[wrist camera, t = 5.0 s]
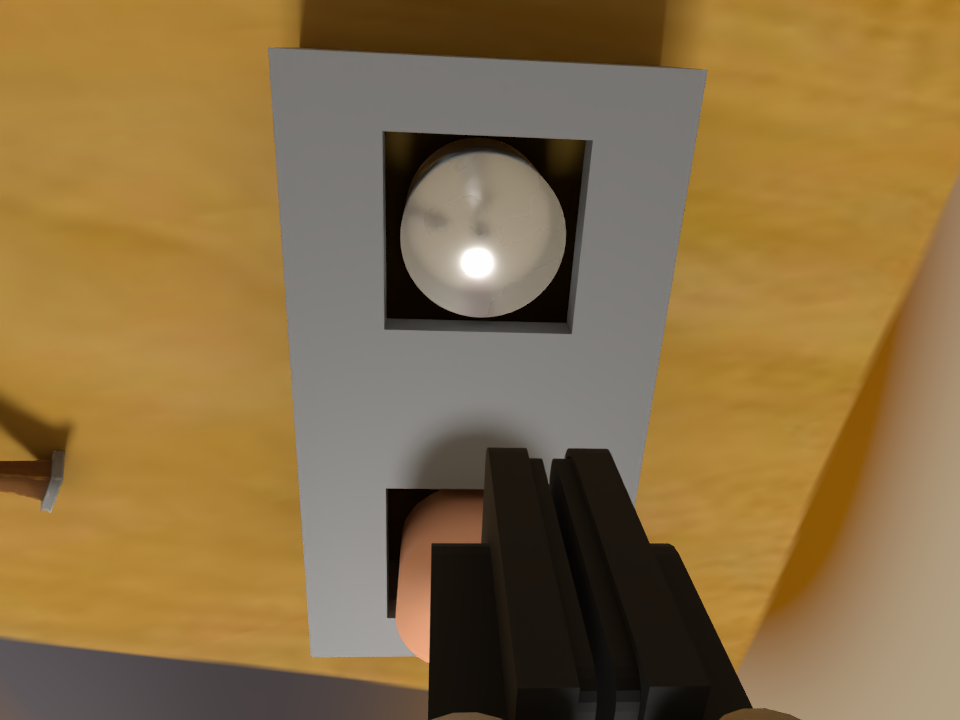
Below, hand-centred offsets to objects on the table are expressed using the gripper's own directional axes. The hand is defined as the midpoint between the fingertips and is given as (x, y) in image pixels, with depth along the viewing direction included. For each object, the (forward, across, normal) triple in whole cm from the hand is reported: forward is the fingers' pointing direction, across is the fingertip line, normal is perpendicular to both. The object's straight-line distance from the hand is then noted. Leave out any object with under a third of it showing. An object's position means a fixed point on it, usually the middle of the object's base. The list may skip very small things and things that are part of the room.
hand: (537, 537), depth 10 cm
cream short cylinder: (+17, 0, -1) cm, 17 cm away
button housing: (+17, 0, +5) cm, 18 cm away
